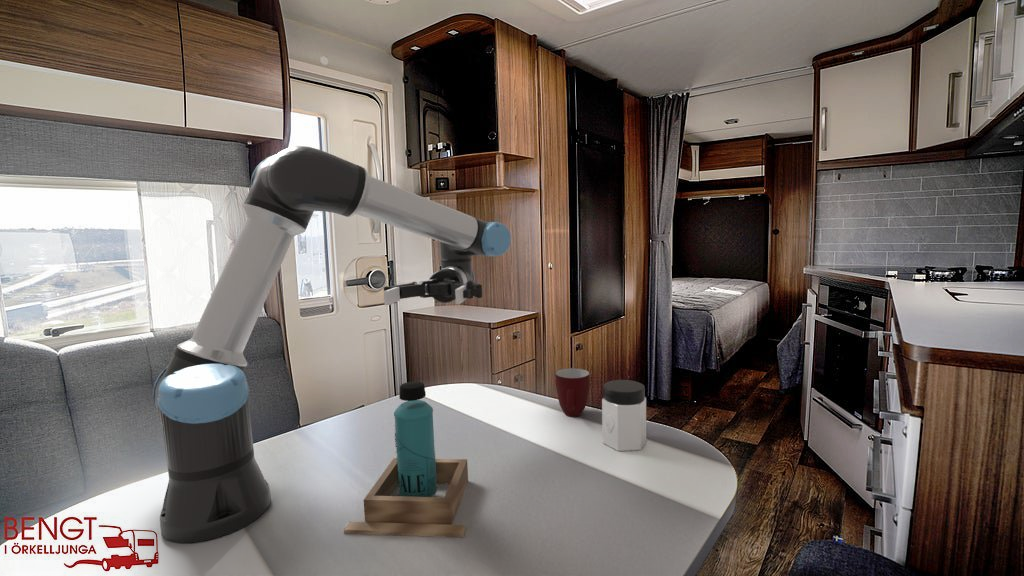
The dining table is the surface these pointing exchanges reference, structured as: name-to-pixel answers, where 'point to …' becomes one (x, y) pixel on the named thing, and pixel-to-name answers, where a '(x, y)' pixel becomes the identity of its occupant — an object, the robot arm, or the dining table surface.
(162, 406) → the robot arm
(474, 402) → the dining table surface
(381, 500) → the square wooden frame
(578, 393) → the mug
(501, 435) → the dining table surface
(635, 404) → the jar
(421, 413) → the beverage bottle
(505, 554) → the dining table surface
